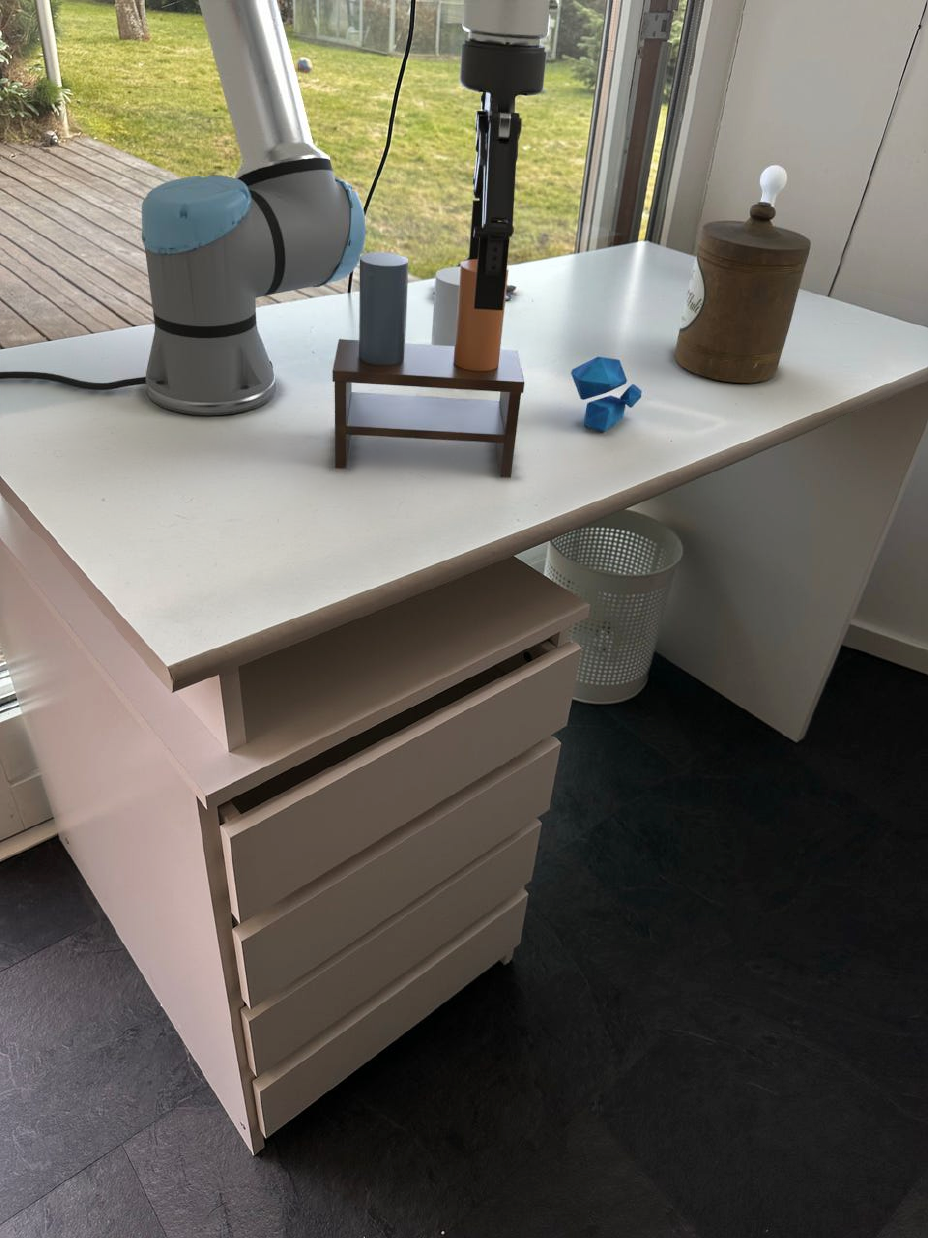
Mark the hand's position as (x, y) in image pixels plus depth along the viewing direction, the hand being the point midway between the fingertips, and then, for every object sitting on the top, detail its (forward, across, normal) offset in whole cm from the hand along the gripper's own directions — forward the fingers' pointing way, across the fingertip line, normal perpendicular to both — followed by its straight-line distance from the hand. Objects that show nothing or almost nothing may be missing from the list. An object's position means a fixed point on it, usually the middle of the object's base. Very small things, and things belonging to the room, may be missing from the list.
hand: (484, 286), depth 93 cm
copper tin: (+8, 0, 0) cm, 8 cm away
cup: (+19, +27, 0) cm, 33 cm away
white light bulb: (+19, +74, -53) cm, 93 cm away
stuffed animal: (+19, +58, -3) cm, 61 cm away
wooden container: (+19, +34, -39) cm, 55 cm away
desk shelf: (+19, 0, +5) cm, 20 cm away
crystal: (+19, +11, -17) cm, 28 cm away
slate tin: (+8, 0, +10) cm, 13 cm away
